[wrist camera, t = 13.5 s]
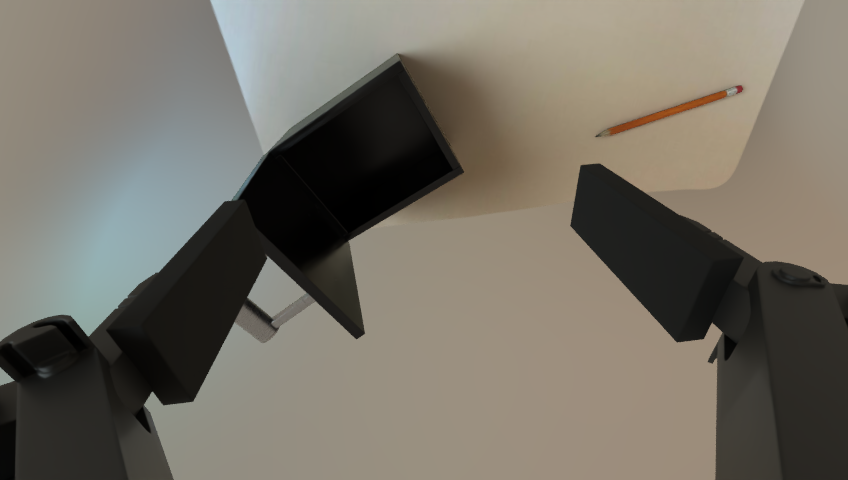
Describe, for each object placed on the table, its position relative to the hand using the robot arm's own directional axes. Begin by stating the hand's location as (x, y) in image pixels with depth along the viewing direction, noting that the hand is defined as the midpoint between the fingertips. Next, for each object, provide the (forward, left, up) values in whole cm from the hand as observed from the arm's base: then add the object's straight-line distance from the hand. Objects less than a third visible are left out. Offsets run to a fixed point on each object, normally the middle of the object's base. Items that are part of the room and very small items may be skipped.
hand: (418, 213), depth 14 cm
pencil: (+10, +34, -33) cm, 48 cm away
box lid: (+7, -10, -15) cm, 19 cm away
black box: (+5, -4, -33) cm, 33 cm away
